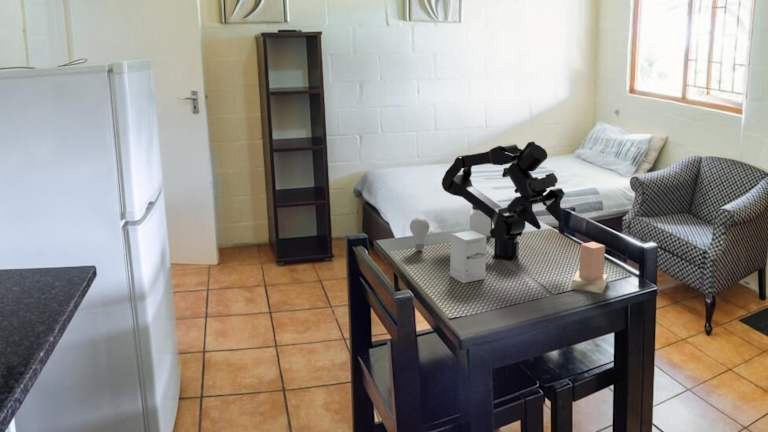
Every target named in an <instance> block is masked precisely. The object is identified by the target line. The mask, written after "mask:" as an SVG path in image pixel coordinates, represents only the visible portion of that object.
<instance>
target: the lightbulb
mask: <svg viewBox="0 0 768 432" xmlns="http://www.w3.org/2000/svg"><path fill="white" fill-rule="evenodd" d="M409 230H410V232H411V234H412V237H413V239H414V246H415V250H417V252H422V251H423V250H424V247H425V243H426V240H425V239H426V237H427V234H428V233H429V231H430V222H429V221H428V219H427V218H426V217H423V216H417V217H415V218H413V219H412V220H411V221H410V223H409Z"/></svg>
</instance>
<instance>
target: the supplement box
mask: <svg viewBox="0 0 768 432" xmlns="http://www.w3.org/2000/svg"><path fill="white" fill-rule="evenodd" d="M449 256H450V259H449V260H450V262H449V276H450V277H452V278H453V279H455V280H457V281H459V282H461V283H462V284H466V283H470V282H475V281H480V280H485V279H486V261H487V236H484V235H482V234H480V233H477V232H475V231H470V230H468V231H467V230H466V231H461V232H455V233H454V232H453V233H450V255H449Z"/></svg>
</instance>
